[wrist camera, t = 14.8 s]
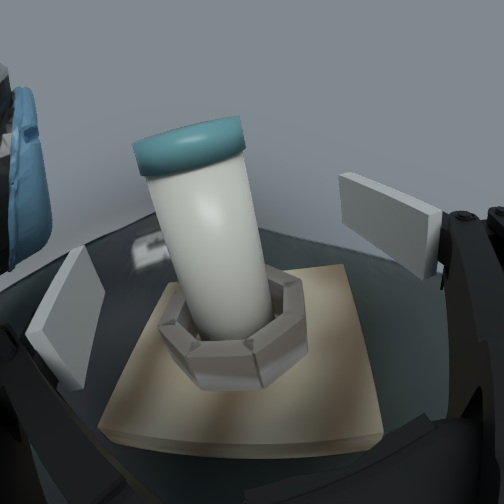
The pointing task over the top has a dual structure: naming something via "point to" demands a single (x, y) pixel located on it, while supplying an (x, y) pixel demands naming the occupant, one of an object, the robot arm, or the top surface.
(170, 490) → the top surface
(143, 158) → the canister
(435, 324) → the top surface
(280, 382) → the collar base
